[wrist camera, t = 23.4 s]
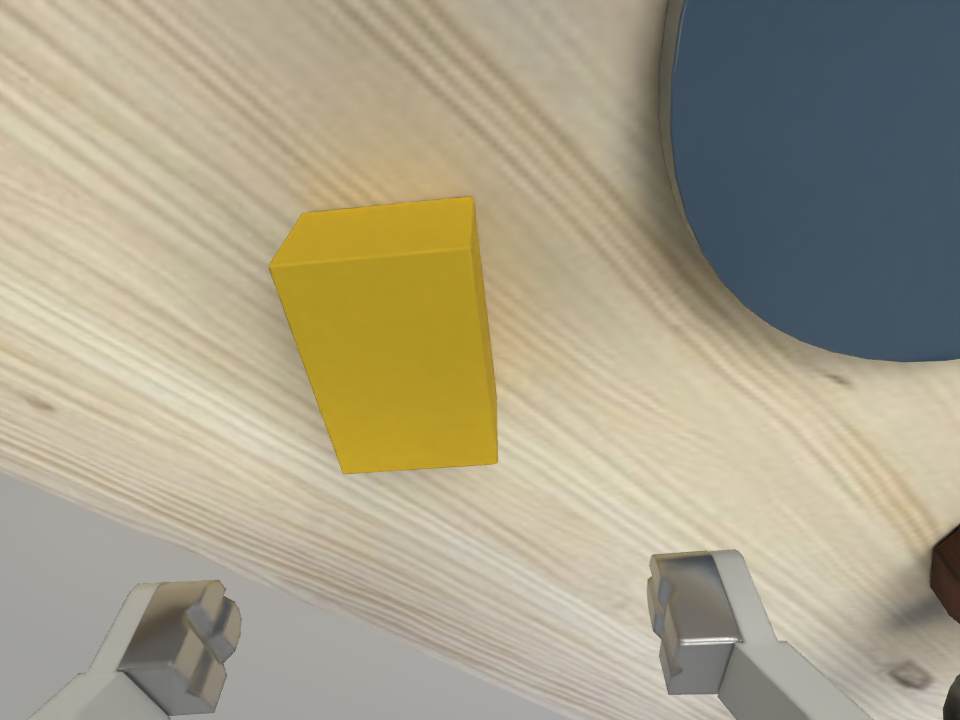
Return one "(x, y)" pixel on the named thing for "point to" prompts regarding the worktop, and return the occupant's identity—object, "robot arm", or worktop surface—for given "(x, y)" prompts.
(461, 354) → the yellow block
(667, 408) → the worktop surface
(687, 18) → the plate
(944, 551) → the mug
